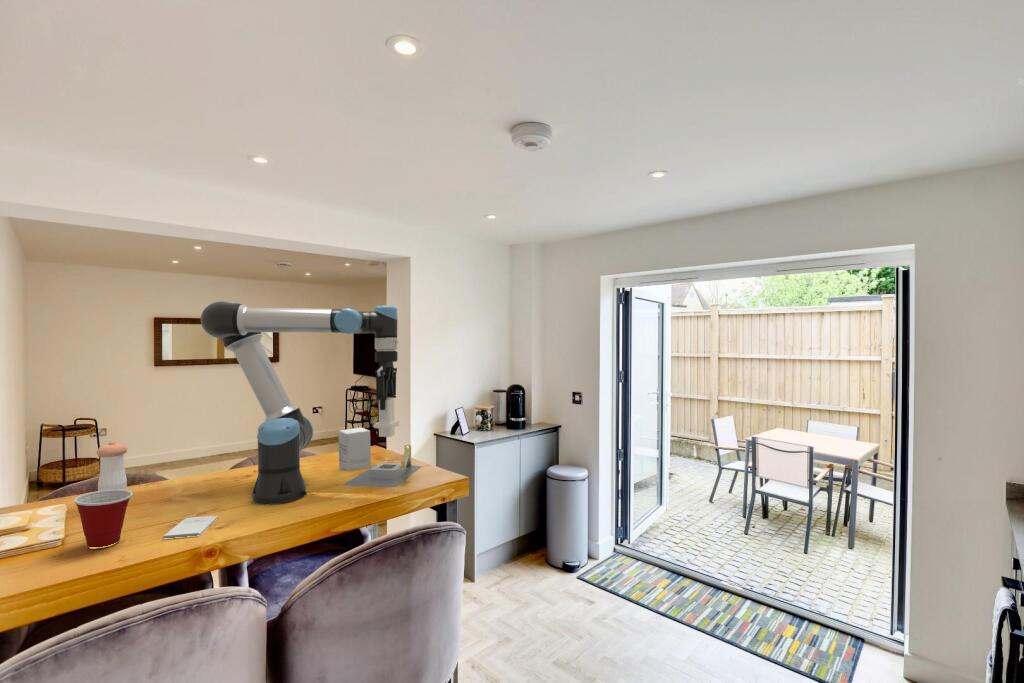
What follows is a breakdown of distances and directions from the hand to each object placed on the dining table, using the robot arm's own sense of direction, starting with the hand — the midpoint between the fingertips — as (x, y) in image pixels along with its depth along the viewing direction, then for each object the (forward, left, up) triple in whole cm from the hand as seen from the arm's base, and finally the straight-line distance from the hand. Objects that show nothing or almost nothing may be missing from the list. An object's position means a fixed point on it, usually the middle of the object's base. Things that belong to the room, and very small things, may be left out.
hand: (386, 417), depth 170 cm
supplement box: (-17, +10, -22) cm, 29 cm away
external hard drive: (-33, -48, -22) cm, 63 cm away
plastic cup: (-46, -60, -22) cm, 78 cm away
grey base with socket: (-1, 0, -21) cm, 21 cm away
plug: (0, 0, -6) cm, 6 cm away
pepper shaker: (-70, -36, -22) cm, 81 cm away
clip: (+6, +1, -20) cm, 21 cm away
